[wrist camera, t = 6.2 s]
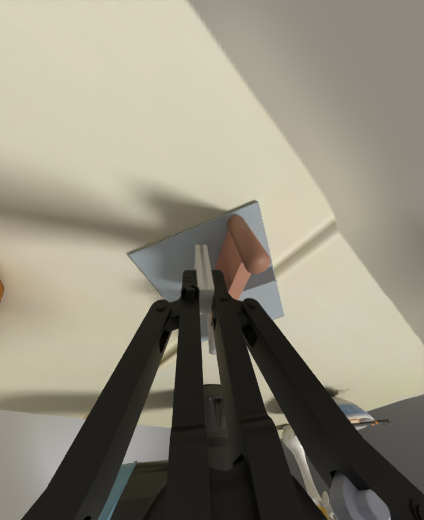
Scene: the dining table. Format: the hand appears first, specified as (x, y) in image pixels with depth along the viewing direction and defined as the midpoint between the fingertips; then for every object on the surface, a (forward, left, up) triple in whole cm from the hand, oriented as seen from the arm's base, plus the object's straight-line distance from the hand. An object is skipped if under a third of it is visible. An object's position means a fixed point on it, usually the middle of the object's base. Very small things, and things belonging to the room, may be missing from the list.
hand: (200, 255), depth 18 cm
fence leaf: (+2, -2, -1) cm, 3 cm away
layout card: (0, -7, -2) cm, 8 cm away
